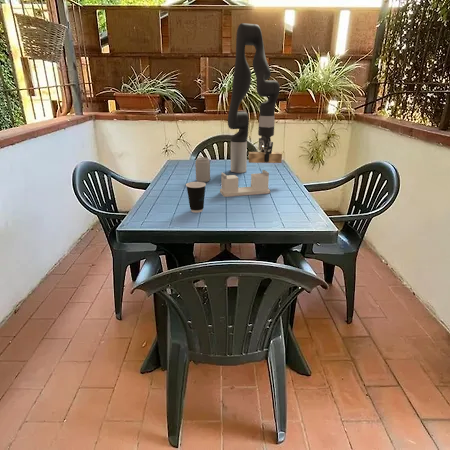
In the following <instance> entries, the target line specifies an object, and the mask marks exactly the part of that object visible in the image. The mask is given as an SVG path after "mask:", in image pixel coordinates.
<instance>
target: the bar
mask: <svg viewBox="0 0 450 450" xmlns="http://www.w3.org/2000/svg"><path fill="white" fill-rule="evenodd" d="M264 157H265V152H260V151H248V164H250V163H251V164H252V163H253V164H256V163H258V164H282V161H283V159H282V158H283V153H282V152H280V151H272V153H271V154H269V162H264Z"/></svg>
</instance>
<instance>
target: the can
mask: <svg viewBox="0 0 450 450" xmlns="http://www.w3.org/2000/svg"><path fill="white" fill-rule="evenodd" d="M194 164H195V180H196V182H203V183H208V182H210V180H211V162H210V160H209V158H208V157H197V158H196V160H195V163H194Z"/></svg>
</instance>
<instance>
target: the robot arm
mask: <svg viewBox="0 0 450 450" xmlns="http://www.w3.org/2000/svg"><path fill="white" fill-rule="evenodd" d="M262 33H263V32H262V29H261V27H260V26H259V24H256V23H245V22H244V23H243V22H242V23H240V24H239V25H238V27H237V30H236V36H235V37H236V38H235V39H236V40H235V41H236V43H235V62H234V70H233V76H232V77H233V78H232V86H231V88H232V89H231V97H230V103H229V110H228V116H227V125H228V128H229V129H230V130H238V131H237V132H236V133H235V134H233V135H231V136H230V172H231V173H236V174H242V173H246V172H247V162H248V161H247V159H248V157H247V155H248V151H247V150H248V149H247V148H248V136H249V124H250V123H249V122H250V120H249V114H248V112H246V111H242V110H241V111H239V108H240V105H241V102H242V101H243V99H245V97H246V96H247V94H248V93H249V91H250V88H251V82H252V72H251V68H250V65H249V63H248V62H247V57H246V46H253V47H254V48H255V53H254V57H253V60H252V68H253V71H254V74H255V78H256V79H255V80H256V93H257V94H258V96H259V97H263V98H267V97H268V99H267V100H266V101H263V102H261V103H260V105H259V117H258V133H257V134H258V136H259V138H258V149H259V152H265V157H264V162H269V154H271V153H272V152H273V145H274V142H273V141H271V137H274V135H275V123H276V122H275V121H276V120H275V113H276V110H275V109H276V104H277V100H278V98H279V95H280V89H281V87H280V83H279V82H278V80H271V79H270V78H271V76H272V73H271V69H270V66H269V63H268V60H267V56H266V53H265V45H264V39H263V34H262ZM269 79H270V80H269Z"/></svg>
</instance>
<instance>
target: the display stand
mask: <svg viewBox="0 0 450 450" xmlns="http://www.w3.org/2000/svg"><path fill="white" fill-rule="evenodd" d="M269 176H270V172H268V171H267V170H266V169H262V172H261V173H259V172H258V173H251V174H250V186H242V187H239V177H238V176H237V175H236V174H229V175H227V174H226V173H224V172H221V177H220V178H221V179H220V180H221V181H220V182H221V188H220V189H219V193H220V194H221V195H222V196H223V197H224V198H228V197H239V196H242V197H243V196H255V195H264V194H271V190H270V188H269V181H270V180H269V178H270V177H269Z"/></svg>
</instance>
